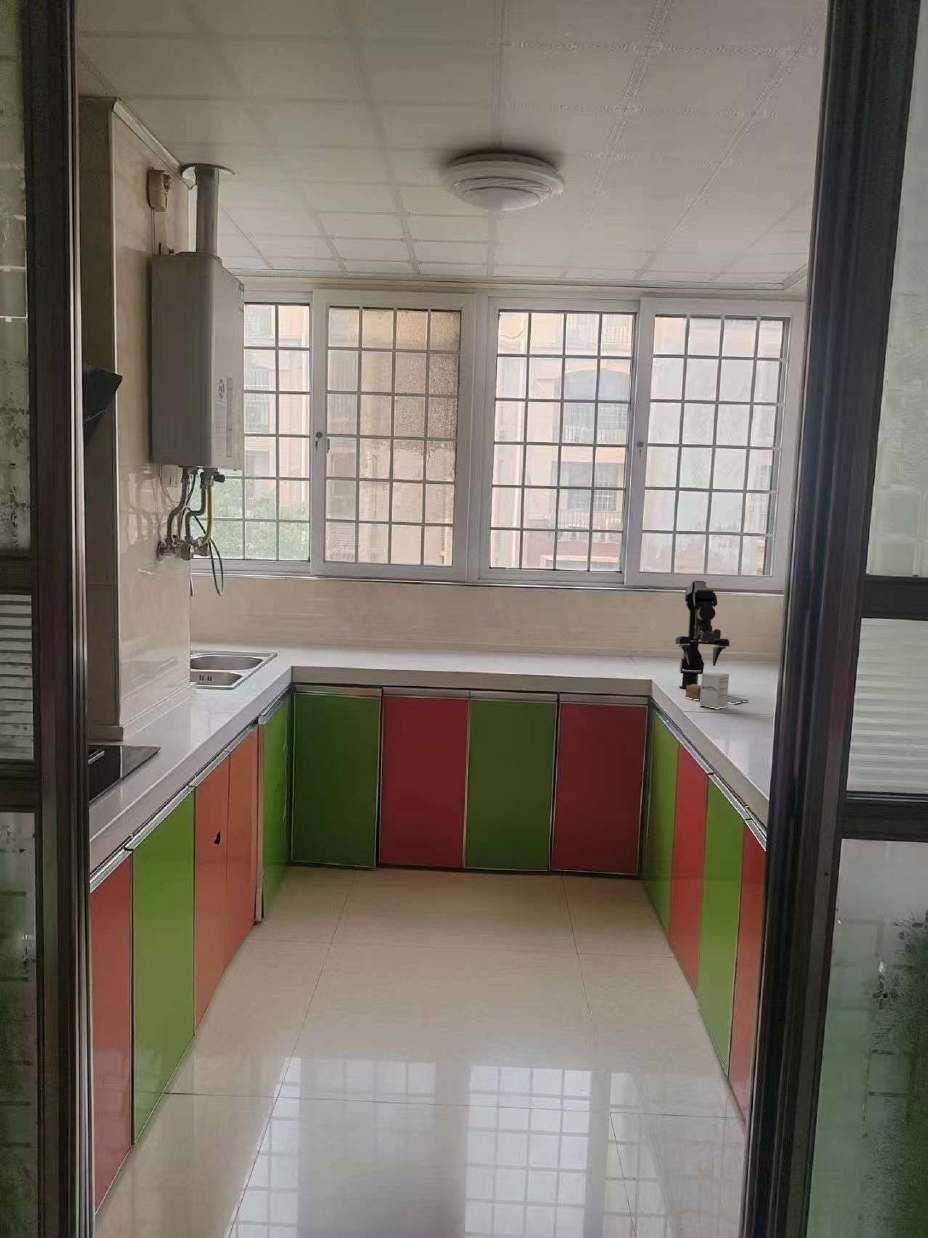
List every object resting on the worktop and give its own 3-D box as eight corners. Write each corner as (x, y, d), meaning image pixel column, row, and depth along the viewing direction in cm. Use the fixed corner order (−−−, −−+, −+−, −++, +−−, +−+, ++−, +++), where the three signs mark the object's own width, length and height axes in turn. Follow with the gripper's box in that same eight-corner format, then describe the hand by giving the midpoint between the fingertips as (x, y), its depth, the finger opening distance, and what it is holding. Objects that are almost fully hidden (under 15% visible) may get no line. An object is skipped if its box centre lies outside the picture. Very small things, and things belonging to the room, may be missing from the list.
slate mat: (727, 697, 373) (727, 695, 373) (747, 701, 367) (748, 699, 367) (712, 700, 366) (712, 698, 366) (733, 704, 360) (733, 702, 360)
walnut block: (692, 696, 373) (693, 684, 373) (704, 699, 370) (705, 686, 369) (685, 698, 370) (686, 685, 369) (696, 700, 366) (697, 687, 366)
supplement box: (698, 706, 355) (700, 672, 353) (709, 704, 360) (711, 670, 358) (716, 710, 349) (718, 675, 348) (727, 707, 355) (729, 673, 353)
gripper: (685, 620, 349) (683, 663, 348) (735, 623, 351) (734, 666, 349) (675, 621, 360) (674, 664, 359) (725, 624, 362) (723, 666, 361)
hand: (701, 665), depth 357 cm, fingers open, 9 cm apart
